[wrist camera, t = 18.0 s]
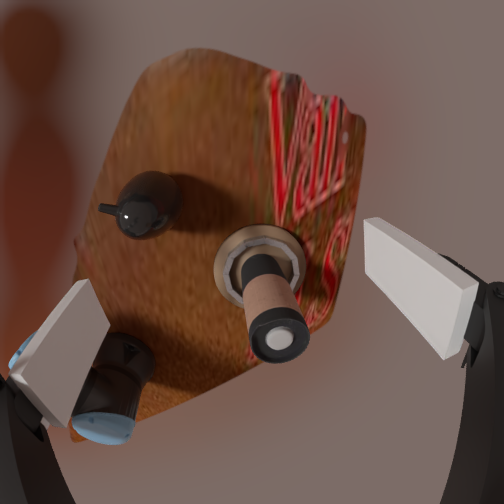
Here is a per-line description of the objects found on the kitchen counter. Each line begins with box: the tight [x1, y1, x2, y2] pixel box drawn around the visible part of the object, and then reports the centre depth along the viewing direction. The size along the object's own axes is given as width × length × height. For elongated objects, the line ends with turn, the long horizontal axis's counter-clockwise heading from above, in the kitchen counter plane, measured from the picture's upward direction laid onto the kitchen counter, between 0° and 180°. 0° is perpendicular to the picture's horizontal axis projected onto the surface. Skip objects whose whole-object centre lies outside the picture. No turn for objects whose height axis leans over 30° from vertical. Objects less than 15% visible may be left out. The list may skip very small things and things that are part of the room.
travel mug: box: [241, 254, 310, 364], centre depth 43 cm, size 8×8×20 cm
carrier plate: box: [214, 224, 306, 308], centre depth 52 cm, size 17×17×3 cm
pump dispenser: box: [98, 171, 183, 240], centre depth 39 cm, size 10×10×15 cm
